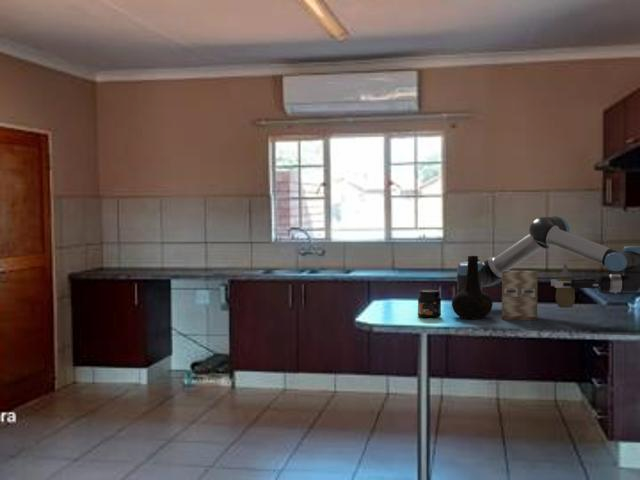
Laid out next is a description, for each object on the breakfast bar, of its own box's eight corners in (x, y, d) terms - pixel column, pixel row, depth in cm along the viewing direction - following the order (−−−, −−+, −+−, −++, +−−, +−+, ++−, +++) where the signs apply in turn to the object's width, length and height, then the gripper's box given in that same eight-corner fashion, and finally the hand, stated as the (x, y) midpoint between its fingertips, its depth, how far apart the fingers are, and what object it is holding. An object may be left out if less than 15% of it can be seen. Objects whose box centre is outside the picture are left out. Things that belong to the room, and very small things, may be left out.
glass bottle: (450, 320, 333) (450, 256, 332) (453, 314, 350) (453, 254, 349) (491, 321, 328) (491, 257, 327) (493, 315, 346) (493, 254, 344)
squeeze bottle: (572, 305, 325) (572, 263, 324) (577, 308, 317) (577, 265, 316) (553, 305, 326) (553, 264, 325) (557, 308, 318) (557, 265, 317)
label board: (501, 319, 334) (502, 271, 333) (501, 317, 339) (502, 270, 338) (537, 320, 330) (537, 271, 329) (536, 318, 336) (536, 270, 335)
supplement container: (413, 317, 342) (413, 291, 341) (424, 314, 350) (424, 289, 349) (434, 319, 335) (434, 292, 335) (445, 316, 344) (445, 290, 343)
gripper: (615, 294, 310) (558, 294, 312) (602, 289, 329) (548, 289, 331) (615, 276, 309) (558, 276, 311) (602, 272, 329) (548, 272, 331)
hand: (553, 283), depth 321 cm, fingers closed on squeeze bottle, 6 cm apart
